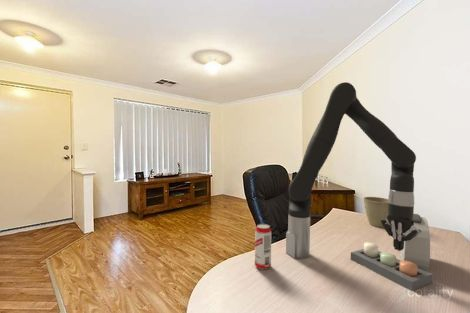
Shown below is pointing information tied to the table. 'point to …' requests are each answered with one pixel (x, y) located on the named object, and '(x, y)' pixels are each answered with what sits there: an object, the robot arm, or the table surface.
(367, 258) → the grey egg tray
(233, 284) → the table surface
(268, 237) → the beer can
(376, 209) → the plant pot
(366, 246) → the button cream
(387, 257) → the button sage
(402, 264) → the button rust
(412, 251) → the alarm clock
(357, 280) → the table surface
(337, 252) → the table surface
